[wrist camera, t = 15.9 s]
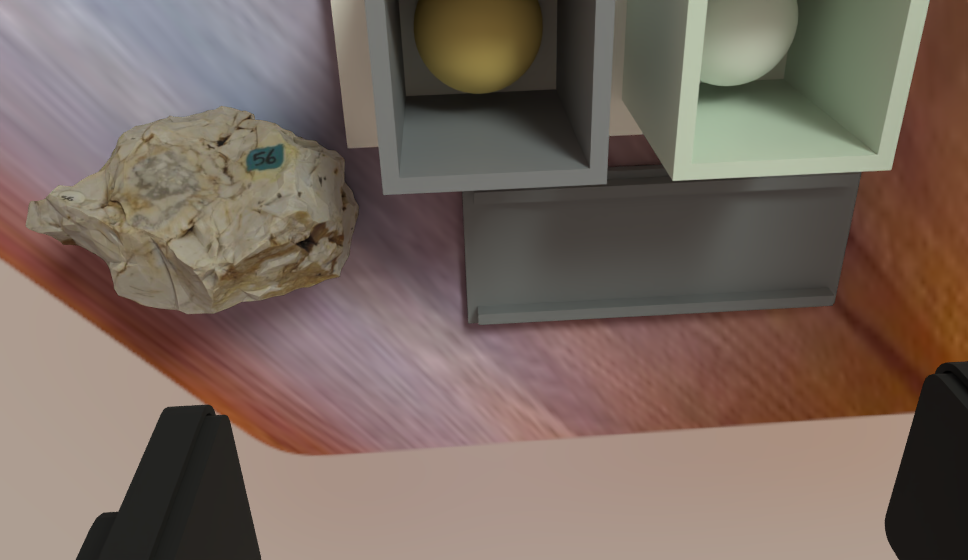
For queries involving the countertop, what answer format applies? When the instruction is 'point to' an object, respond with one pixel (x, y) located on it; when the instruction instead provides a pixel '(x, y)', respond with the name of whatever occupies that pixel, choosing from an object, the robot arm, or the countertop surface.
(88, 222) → the rock
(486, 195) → the mat
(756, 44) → the white ball
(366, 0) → the grey double box
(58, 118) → the countertop surface
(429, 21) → the mustard ball
